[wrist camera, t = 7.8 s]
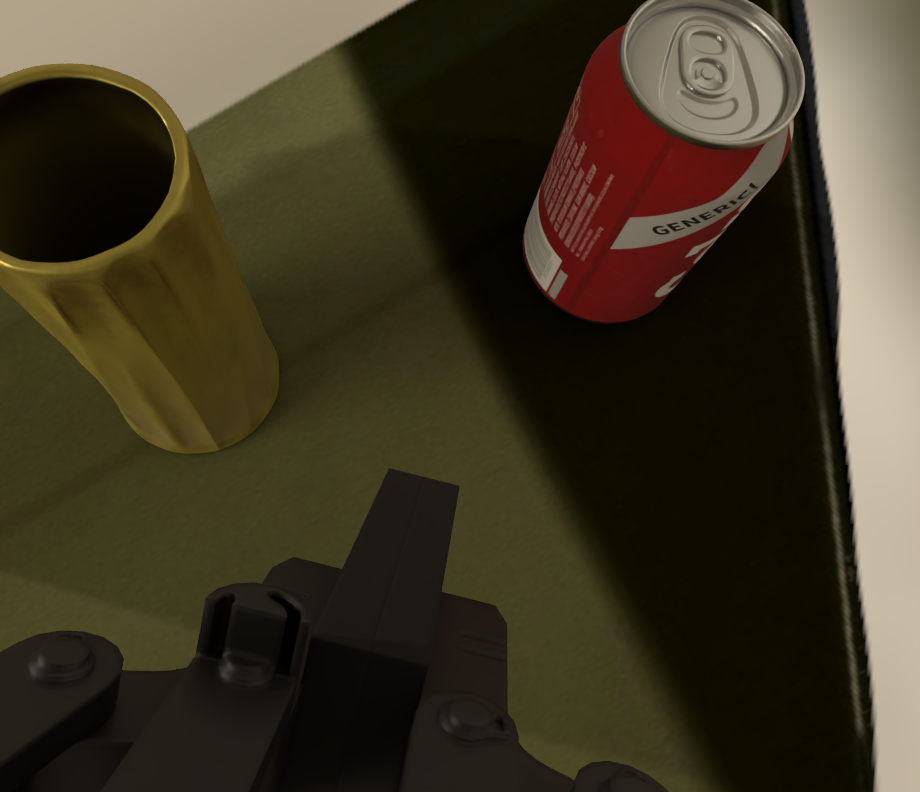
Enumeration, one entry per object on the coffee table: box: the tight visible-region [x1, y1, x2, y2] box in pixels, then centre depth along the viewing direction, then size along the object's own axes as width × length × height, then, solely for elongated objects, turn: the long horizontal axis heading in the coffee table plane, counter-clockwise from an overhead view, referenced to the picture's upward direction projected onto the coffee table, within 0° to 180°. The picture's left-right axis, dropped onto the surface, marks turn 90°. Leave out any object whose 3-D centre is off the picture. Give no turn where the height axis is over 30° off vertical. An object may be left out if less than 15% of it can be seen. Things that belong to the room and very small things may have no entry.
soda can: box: [523, 0, 805, 324], centre depth 28 cm, size 7×7×12 cm
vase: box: [0, 64, 280, 454], centre depth 23 cm, size 6×6×14 cm
